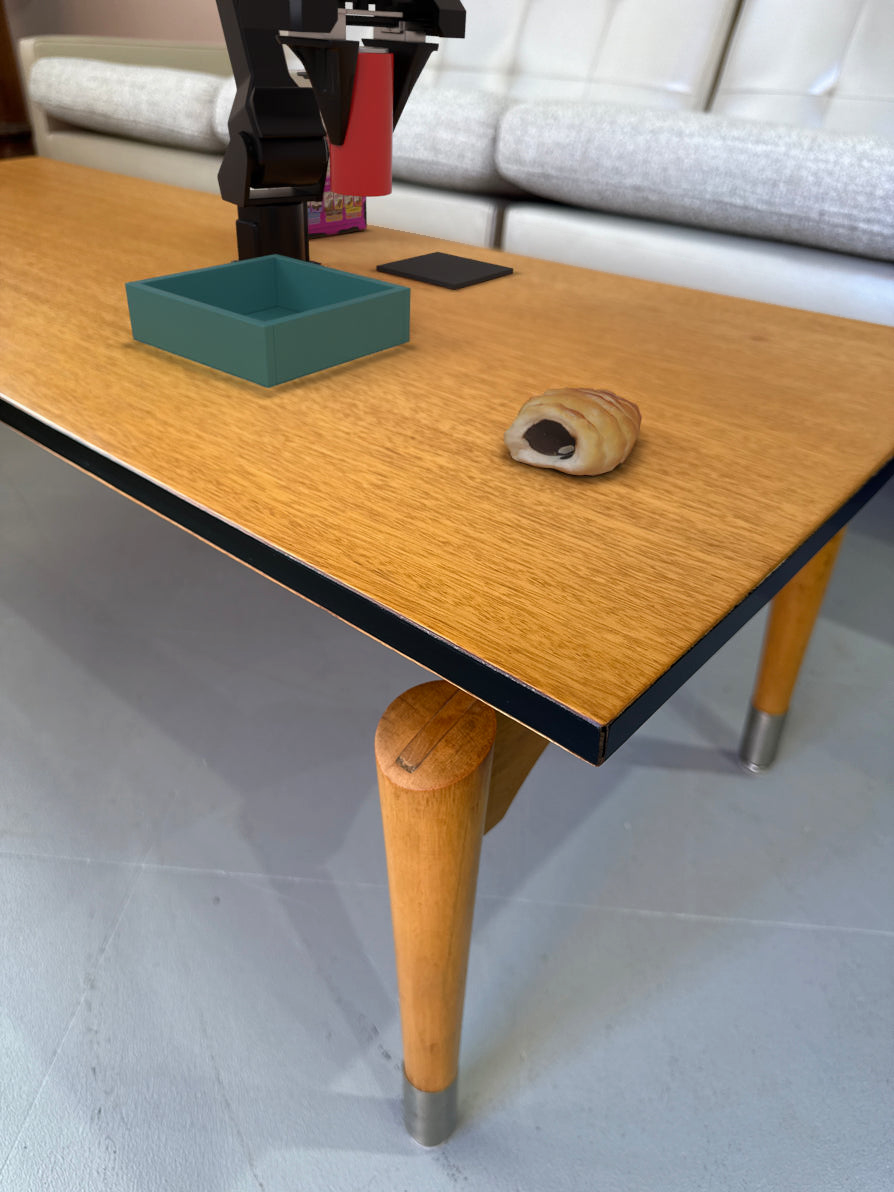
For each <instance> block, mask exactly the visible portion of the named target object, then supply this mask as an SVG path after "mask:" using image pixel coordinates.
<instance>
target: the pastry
mask: <svg viewBox="0 0 894 1192" xmlns="http://www.w3.org/2000/svg"><path fill="white" fill-rule="evenodd" d="M642 418H643V417H642V414H641V411H640V408H639V406H638V405H637V404H636V403H635V402H633V401H630V400H628V399H626V398H624V397H623V396H619V395H617V394H616V393H615V392H613V391H610V390H608V389H604V388H598V389H597V388H596V389H595V388H591V387H586V388H585V387H577V388H574V387H563V388H551V389H546V390H545V391H544V392H543V393H542V395H541V394H540V395H535V396H531V397H530V398H529V399H528V400H526V401H525V402H524V403H523V404H522V406H521V407H520V408H519V410H518V413H517V416H516V417H515V418H514V420H513V422H512V423H511V425H510V426H509V428H507V429H506V430H505V431H504V433H503V442H504V445H505V446H506V448H507V449H508V450H509V452H510V457H511V458H512V459H513V460H515V461H516V462H518V463H519V462H521V463H523V464H527V465H529V466H532V467H536V468H545V469H554V470H557V471H559V472H562V473H565V474H568V475H574V476H584V475H587V476H592V477H595V476H597V475H598V476H599V475H601V474H604V473H608V472H612V471H613V470H614V469H615V468H616V467H617V466H618V465H619V464H621V465H622V464H623V463H624V461H626V459H627V457H628V456H629V455H630V453H631V451H632V450H633V447H634V446H635V443H636V442H637V439H638V437H639V435H640V431H641V423H642Z"/></svg>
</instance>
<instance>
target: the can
mask: <svg viewBox="0 0 894 1192" xmlns="http://www.w3.org/2000/svg"><path fill="white" fill-rule="evenodd" d="M393 81H394V54H393V53H389V49H388V48H381V47H368V46H364V45H359V51H358V58H357V65H356V72H355V79H354V86H353V93H352V100H351V107H350V114H349V121H348V127H347V131H346V136H345V140H344V144H343V145H342V146H337V145H332V144H331V143H330V140H329V149H330V190H331V191H332V192H334V193H337V194H341V195H348V196H358V197H366V198H374V197H375V198H377V197H386V196H389V195H391V194H392V193H393V145H394V144H393V142H394V141H393V139H394V135H393V134H394V132H393Z"/></svg>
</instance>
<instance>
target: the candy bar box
mask: <svg viewBox="0 0 894 1192" xmlns="http://www.w3.org/2000/svg"><path fill="white" fill-rule="evenodd" d="M288 70H289V73H290V76H291V77H292V78H293V79H294V81H295V82H296V83H297V84H298V86H299V87H312V85H311V83H310V80H309V78H308V75H307V73H306V71H305V68H303V69H288ZM320 115H321V113H320ZM321 119H322V116H321ZM322 123H323V126H324V128H325V125H324V122H323V119H322ZM325 130H326V128H325ZM326 132H327V131H326ZM325 138H326V140H327V144H328V148H329V137H328V134H327V136H326V137H325ZM329 153H330V149H329ZM287 188H293V187H287ZM269 189H278V188H269ZM307 204H308V230H309V239H316V238H321V237H327V236H333V235H339V234H346V233H351V232H352V233H353V232H358V231H364V230H367V229H368V224H367V223H368V221H367V220H368V219H367V218H368V217H367V216H368V215H367V197H358V196H348V195H341V194H337V193H334V192H332V191H331V190H330V155H329V162H328V169H327V175H326V182H325V189H324V195H323V201H322V202H315V201H314V202H307Z"/></svg>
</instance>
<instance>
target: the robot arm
mask: <svg viewBox="0 0 894 1192" xmlns="http://www.w3.org/2000/svg"><path fill="white" fill-rule="evenodd" d="M346 3H352V6H351V7H352V8H346ZM215 5H216V8H217V12H218V16H219V20H220V25H221V29H222V33H223V37H224V41H225V45H226V50H227V55H228V58H229V62H230V66H231V71H232V74H233V78H234V83H235V88H236V92H235V94H234V95H235V96H234V98H233V102H232V105H231V109H230V112H229V116H228V119H227V130H228V136H229V142H228V145H227V147H226V150H225V153H224V155H223V159H222V161H221V163H220V167H219V169H218V172H217V177H216V178H217V182H218V183H217V184H218V187H219V192H220V195H221V196H220V197H221V200H222V201H224V202H227V203H230V204H233V205H235V206H236V209H237V219H236V220H235V231H236V233H235V234H236V244H237V245H236V246H237V257H238V258H237V259H235V260H231V261H230V263H232V262H237V261H243V260H248V259H253V258H258V257H263V256H269V255H274V254H277V255H281V256H285V257H289V258H293V259H297V260H301V261H305V262H309V263H313V264H317V265H321V266H322V262H319V261H315V260H311V259H310V238H309V230H308V204H307V202H314V201H315V202H322V201H323V195H324V189H325V182H326V175H327V169H328V162H329V155H330V153H329V148H328V144H327V140H326V138H325V137H326V136H327V134H328V137H329V140H330V143H331V144H332V145H337V146H342V145H343V144H344V140H345V136H346V131H347V127H348V121H349V114H350V107H351V100H352V93H353V86H354V79H355V72H356V65H357V58H358V51H359V46H360V41H361V43H362V46H368V47H381V48H388V49H389V53H393V54H394V81H393V133H394V132H395V130H396V128H397V125H398V123H399V121H400V118H401V116H402V114H403V112H404V110H405V107H406V105H407V103H408V100H409V98H410V96H411V94H412V92H413V90H414V88H415V85H416V83H417V81H418V80H419V78H420V76H421V75H422V73H423V70H424V69H425V66H426V64H427V63H428V61H429V59H430V57H431V55H432V54H433V52H438V51H439V47H440V43H436V42H427V40H426V39H427V37H437V38H440V39H461V40H462V39H466V26H467V10H466V8H465V6H464V4H463V2H462V1H461V0H215ZM370 5H372V6H373V5H374V10H370ZM347 26H348V27H349V26H350V27H368V28H370V27H371V28H373V30H372V31H373V33H372V36H373V38H363V37H362V38H360V40H352V39H350V40H349V39H347ZM281 31H282V32H288V35H281ZM284 45H285V46H286V47H288V49H289V50H290V51H291V52H292V53H293V54H294V55H295V57H296V58H297V59H298V60H299V61H300V64H302V66H303V69H305V71H306V73H307V75H308V78H309V80H310V83H311V85H312V87H299V86H298V84H297V83H296V82H295V81H294V79H293V78H292V77H291V76H290V73H289V70H290V69H289V66H288V62H287V57H286V53H285V49H284ZM320 113H321V115H320ZM321 116H322V119H323V122H324V125H325V128H326V130H325V128H324V126H323V123H322V119H321ZM326 131H327V132H326ZM287 187H293V188H287ZM269 188H278V189H269Z"/></svg>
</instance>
